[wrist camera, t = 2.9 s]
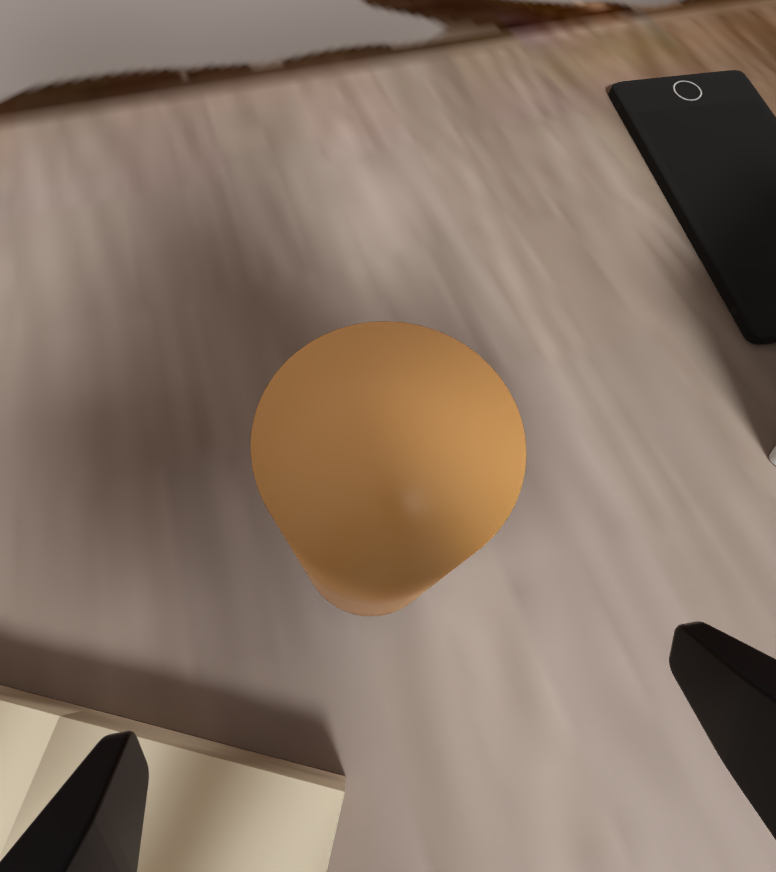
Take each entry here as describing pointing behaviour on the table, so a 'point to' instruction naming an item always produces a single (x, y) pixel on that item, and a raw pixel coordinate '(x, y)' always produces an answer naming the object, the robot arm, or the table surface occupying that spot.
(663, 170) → the cell phone
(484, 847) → the table surface
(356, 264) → the table surface
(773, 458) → the light bulb box
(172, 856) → the subfloor panel
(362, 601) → the orange rounded cylinder
